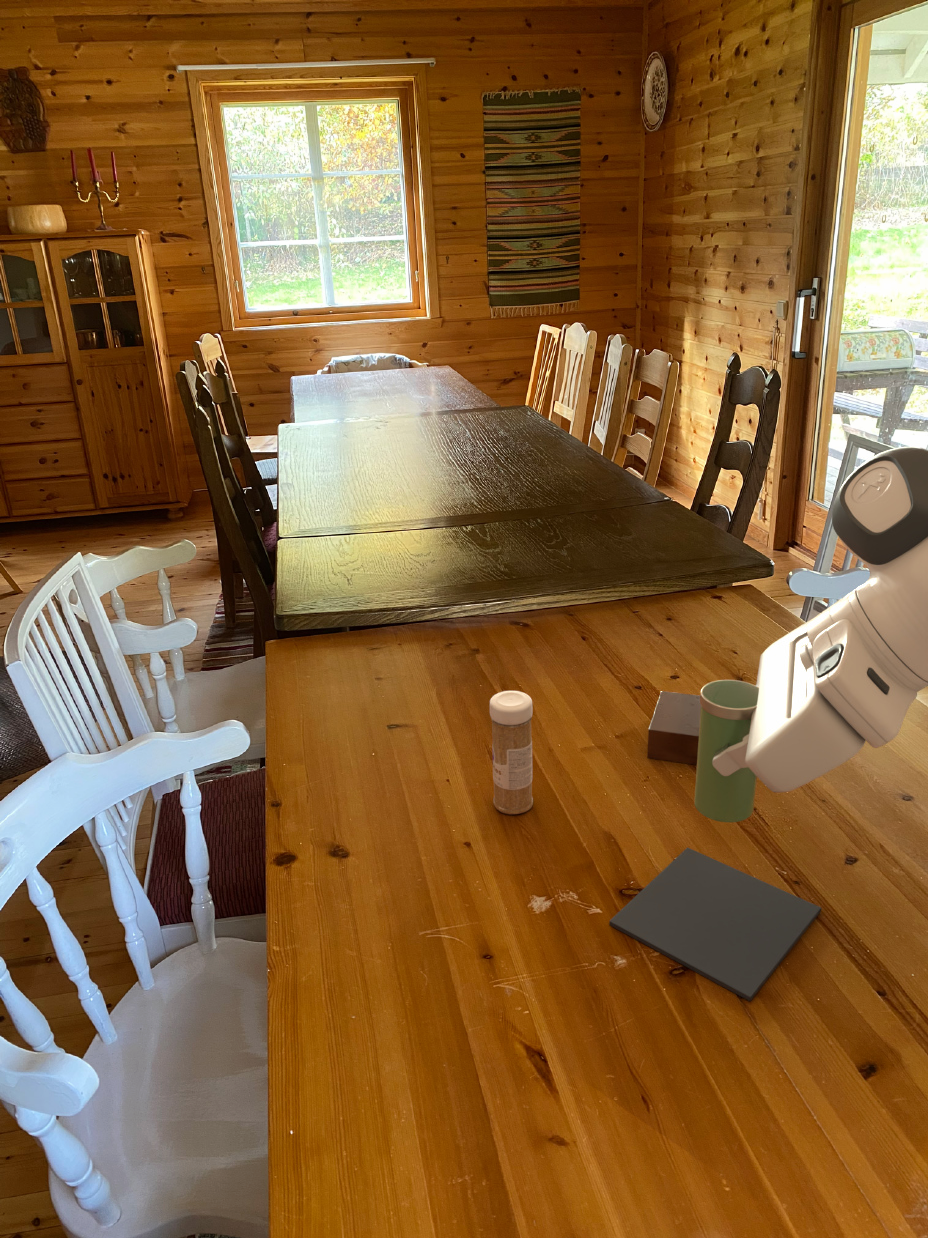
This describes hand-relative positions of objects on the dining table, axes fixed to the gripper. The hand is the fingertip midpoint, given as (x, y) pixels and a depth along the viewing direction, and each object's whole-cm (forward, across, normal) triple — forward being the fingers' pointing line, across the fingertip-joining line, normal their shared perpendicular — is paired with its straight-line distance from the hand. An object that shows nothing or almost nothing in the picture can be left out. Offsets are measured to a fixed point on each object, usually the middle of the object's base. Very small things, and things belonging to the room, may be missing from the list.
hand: (721, 746), depth 78 cm
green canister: (+4, 0, +5) cm, 6 cm away
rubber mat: (+13, 0, +14) cm, 18 cm away
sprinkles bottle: (+29, -12, -3) cm, 32 cm away
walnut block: (+16, -31, +10) cm, 36 cm away
